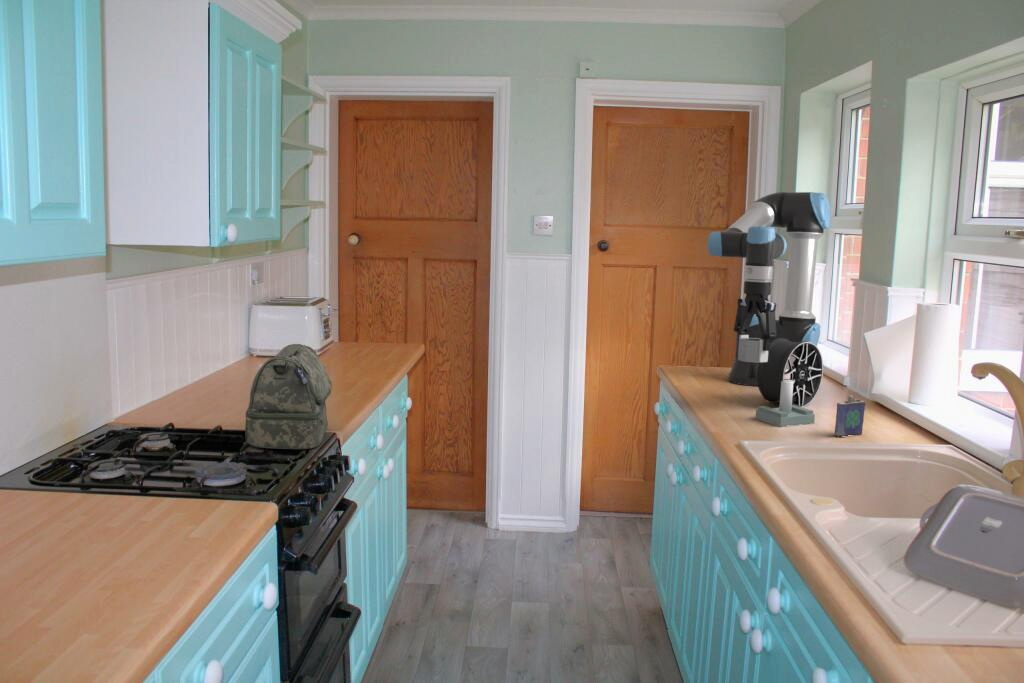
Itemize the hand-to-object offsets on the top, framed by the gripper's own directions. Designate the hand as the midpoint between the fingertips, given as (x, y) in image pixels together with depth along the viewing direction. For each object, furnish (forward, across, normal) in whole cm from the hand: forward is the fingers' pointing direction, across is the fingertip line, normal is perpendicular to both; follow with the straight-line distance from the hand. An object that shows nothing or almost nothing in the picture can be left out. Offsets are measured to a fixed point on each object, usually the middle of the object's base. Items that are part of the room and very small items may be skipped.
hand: (752, 359), depth 245 cm
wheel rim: (+15, -3, +17) cm, 23 cm away
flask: (+16, +31, +6) cm, 36 cm away
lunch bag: (+16, -12, -129) cm, 131 cm away
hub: (0, 0, 0) cm, 0 cm away
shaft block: (+15, +13, +1) cm, 20 cm away
